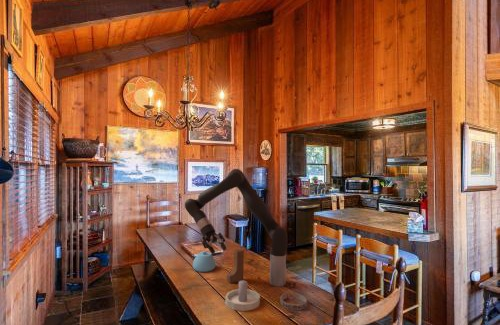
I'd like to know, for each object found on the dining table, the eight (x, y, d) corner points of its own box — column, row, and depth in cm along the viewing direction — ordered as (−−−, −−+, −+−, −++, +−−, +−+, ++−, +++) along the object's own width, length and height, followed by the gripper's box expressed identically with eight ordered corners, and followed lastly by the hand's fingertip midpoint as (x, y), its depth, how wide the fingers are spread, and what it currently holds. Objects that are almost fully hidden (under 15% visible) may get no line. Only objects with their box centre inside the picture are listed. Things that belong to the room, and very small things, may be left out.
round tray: (241, 291, 157) (241, 286, 157) (266, 301, 146) (266, 295, 146) (218, 302, 143) (218, 296, 143) (244, 314, 133) (244, 308, 133)
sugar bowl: (211, 274, 182) (211, 255, 182) (188, 271, 185) (189, 253, 185) (218, 265, 196) (218, 249, 196) (197, 264, 199) (198, 247, 199)
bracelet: (275, 305, 142) (275, 299, 142) (287, 295, 153) (287, 290, 154) (300, 314, 135) (301, 307, 135) (311, 302, 146) (311, 296, 146)
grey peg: (242, 297, 148) (242, 279, 148) (248, 299, 145) (249, 282, 145) (236, 300, 144) (236, 282, 145) (243, 303, 142) (243, 284, 142)
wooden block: (229, 283, 167) (230, 252, 167) (226, 280, 171) (227, 250, 171) (243, 280, 171) (244, 250, 171) (240, 278, 175) (240, 248, 175)
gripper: (199, 225, 157) (213, 250, 149) (218, 221, 168) (232, 244, 160) (192, 233, 160) (206, 258, 153) (211, 229, 171) (225, 252, 164)
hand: (219, 251), depth 157 cm, fingers open, 8 cm apart
